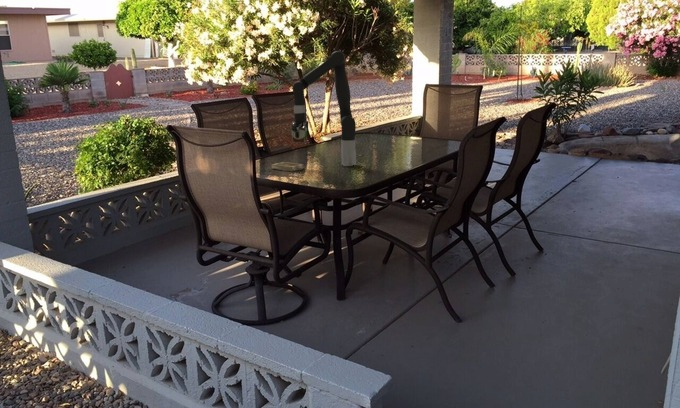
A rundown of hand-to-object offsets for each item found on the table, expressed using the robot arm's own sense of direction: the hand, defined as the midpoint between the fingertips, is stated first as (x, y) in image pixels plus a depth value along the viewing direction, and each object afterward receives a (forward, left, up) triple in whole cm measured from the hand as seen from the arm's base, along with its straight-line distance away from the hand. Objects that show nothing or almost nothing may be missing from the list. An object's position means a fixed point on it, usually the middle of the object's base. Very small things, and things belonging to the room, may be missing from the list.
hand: (300, 137), depth 394 cm
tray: (+13, 0, -20) cm, 24 cm away
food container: (0, 0, -3) cm, 3 cm away
